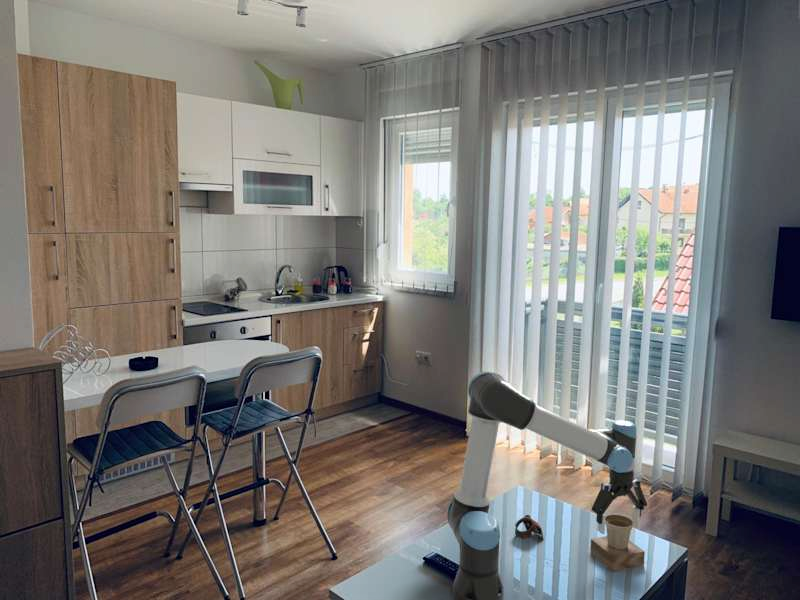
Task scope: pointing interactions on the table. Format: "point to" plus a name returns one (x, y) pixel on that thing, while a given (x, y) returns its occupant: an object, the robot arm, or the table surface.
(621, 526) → the flower pot
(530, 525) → the broken clay jug
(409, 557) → the table surface
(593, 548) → the walnut stand
